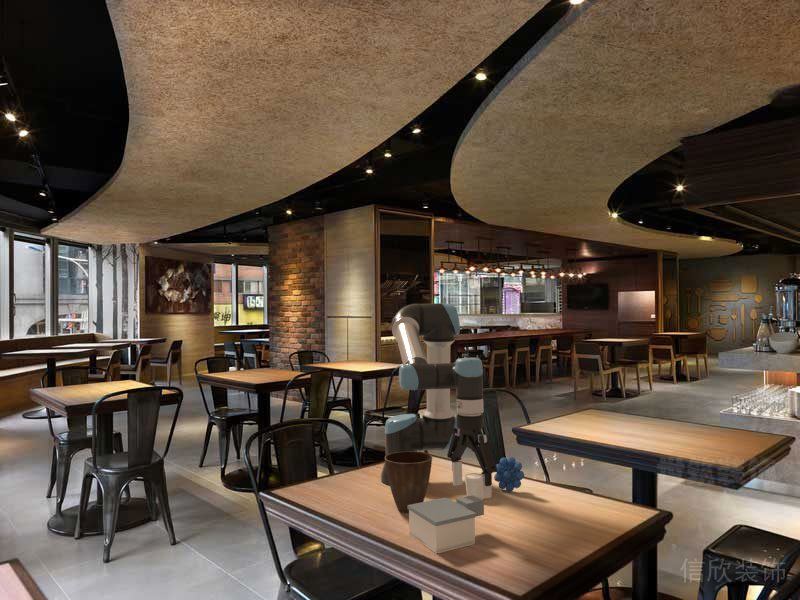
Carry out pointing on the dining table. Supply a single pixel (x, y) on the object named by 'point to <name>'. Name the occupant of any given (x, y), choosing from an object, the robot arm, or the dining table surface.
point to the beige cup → (473, 484)
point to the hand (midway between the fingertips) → (471, 491)
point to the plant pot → (408, 477)
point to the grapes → (509, 474)
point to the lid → (448, 509)
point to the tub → (442, 533)
